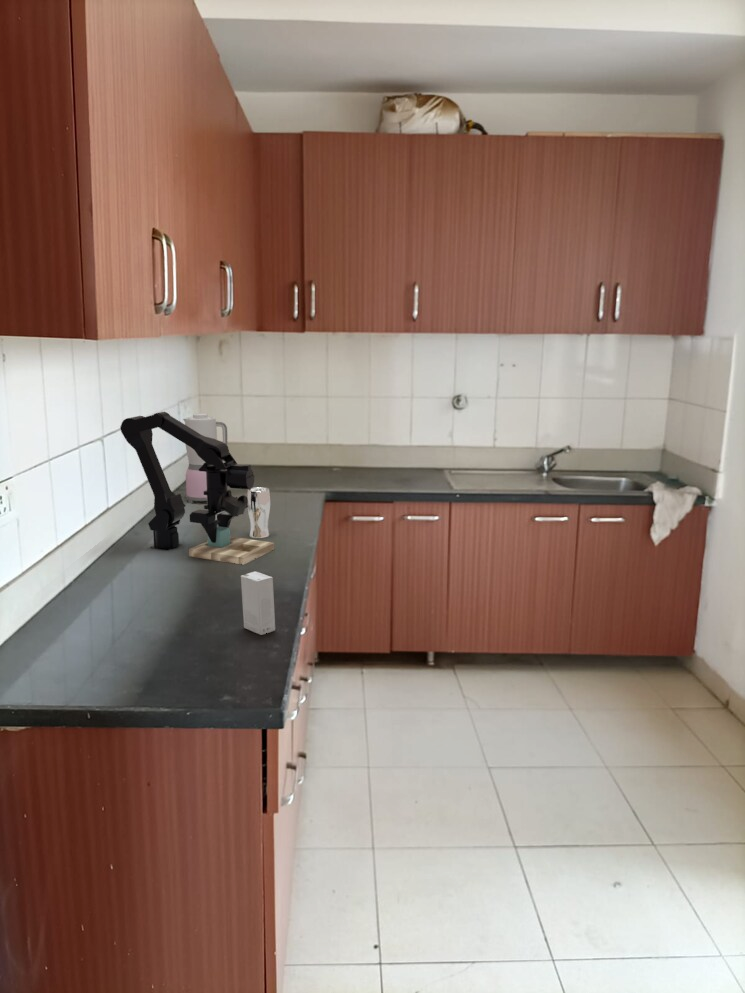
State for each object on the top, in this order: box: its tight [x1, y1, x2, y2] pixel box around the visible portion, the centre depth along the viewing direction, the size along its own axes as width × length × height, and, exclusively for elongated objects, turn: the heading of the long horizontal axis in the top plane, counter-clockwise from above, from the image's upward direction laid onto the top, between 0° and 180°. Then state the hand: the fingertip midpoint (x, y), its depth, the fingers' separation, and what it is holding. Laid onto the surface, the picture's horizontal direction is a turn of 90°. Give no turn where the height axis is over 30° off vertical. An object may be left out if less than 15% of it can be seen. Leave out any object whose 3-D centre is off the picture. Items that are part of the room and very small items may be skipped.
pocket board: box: [188, 535, 275, 566], centre depth 213 cm, size 18×16×2 cm
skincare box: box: [240, 570, 276, 636], centre depth 160 cm, size 6×4×12 cm
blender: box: [182, 413, 228, 504], centre depth 276 cm, size 16×12×32 cm
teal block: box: [206, 525, 231, 548], centre depth 215 cm, size 4×4×6 cm
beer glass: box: [246, 486, 271, 539], centre depth 230 cm, size 7×7×15 cm
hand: (218, 540), depth 215 cm, fingers closed on teal block, 4 cm apart
